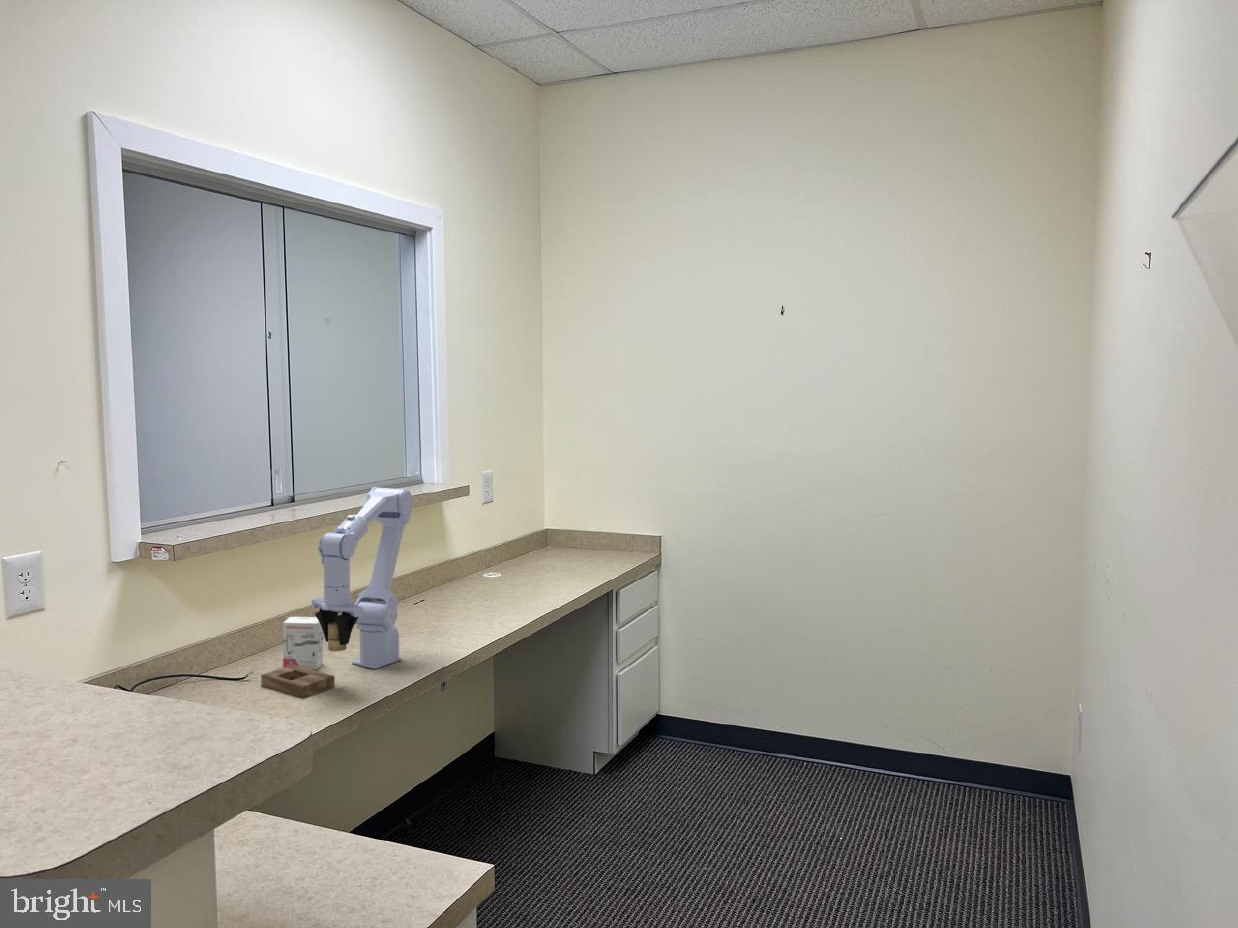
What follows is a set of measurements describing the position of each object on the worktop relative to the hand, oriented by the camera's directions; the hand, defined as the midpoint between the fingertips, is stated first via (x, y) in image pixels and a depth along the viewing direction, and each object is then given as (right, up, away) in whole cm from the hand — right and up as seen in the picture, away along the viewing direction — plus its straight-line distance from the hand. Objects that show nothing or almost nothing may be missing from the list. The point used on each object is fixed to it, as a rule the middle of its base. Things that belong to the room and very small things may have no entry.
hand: (337, 642), depth 213 cm
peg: (0, -2, 0) cm, 2 cm away
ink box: (-12, -9, +13) cm, 20 cm away
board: (-9, -10, -1) cm, 13 cm away
